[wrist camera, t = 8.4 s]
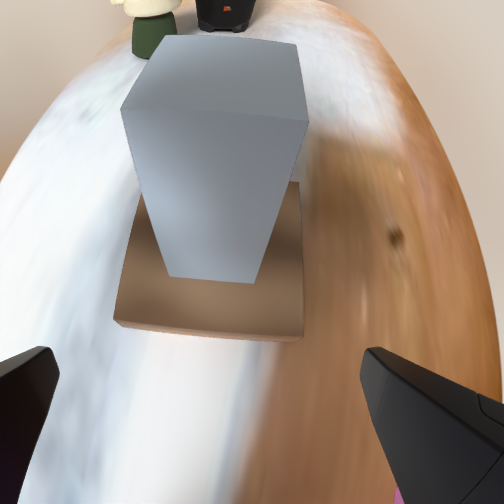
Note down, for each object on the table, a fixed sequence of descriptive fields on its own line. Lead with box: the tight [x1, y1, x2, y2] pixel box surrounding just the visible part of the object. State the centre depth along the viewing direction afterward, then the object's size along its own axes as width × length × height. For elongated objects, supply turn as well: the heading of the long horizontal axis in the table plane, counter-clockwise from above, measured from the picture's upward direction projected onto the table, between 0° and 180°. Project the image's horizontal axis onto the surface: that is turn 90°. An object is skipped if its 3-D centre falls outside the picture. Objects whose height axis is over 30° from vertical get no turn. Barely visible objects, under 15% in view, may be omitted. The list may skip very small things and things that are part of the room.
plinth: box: [113, 181, 304, 342], centre depth 20 cm, size 11×11×2 cm
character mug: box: [111, 0, 182, 58], centre depth 27 cm, size 11×7×13 cm, turn 91°
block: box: [120, 35, 309, 284], centre depth 14 cm, size 5×5×12 cm
